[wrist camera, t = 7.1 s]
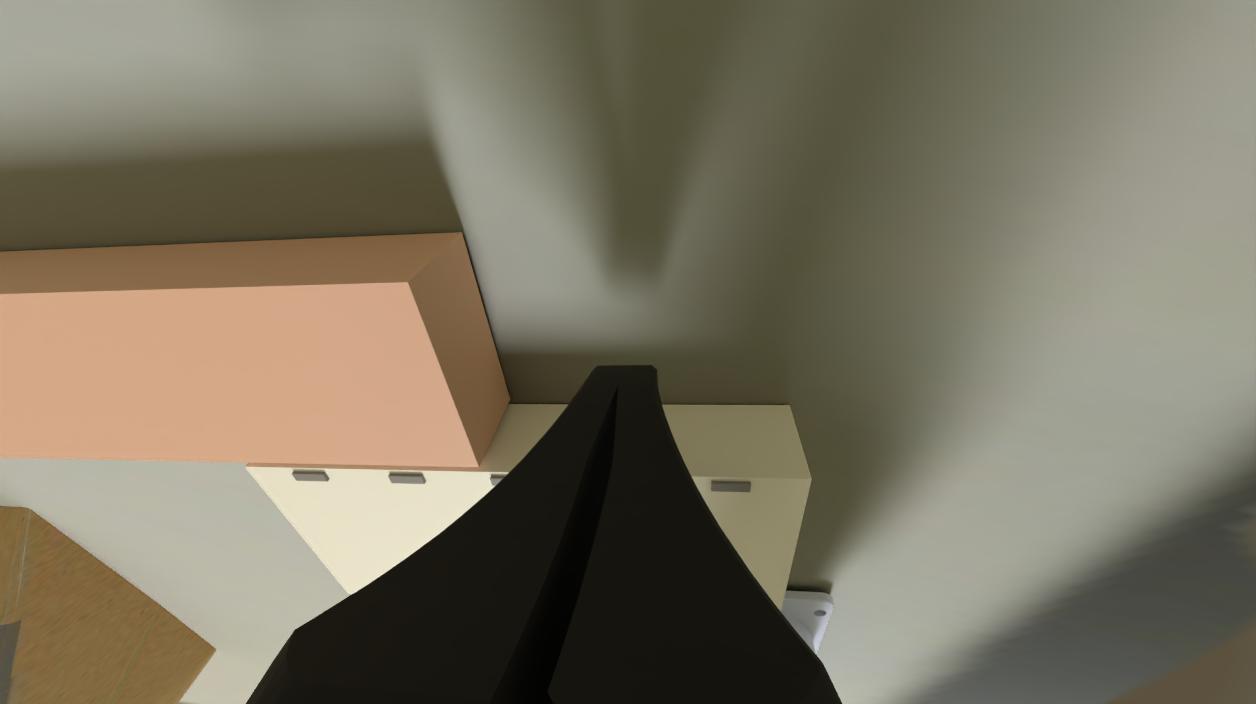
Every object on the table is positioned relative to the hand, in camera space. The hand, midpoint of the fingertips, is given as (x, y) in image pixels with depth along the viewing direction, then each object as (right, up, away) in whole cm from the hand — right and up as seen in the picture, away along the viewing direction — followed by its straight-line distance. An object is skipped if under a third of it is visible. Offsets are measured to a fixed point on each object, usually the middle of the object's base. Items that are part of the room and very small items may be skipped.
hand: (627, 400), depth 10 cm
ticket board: (-3, -4, +6) cm, 8 cm away
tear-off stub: (-12, +2, +4) cm, 13 cm away
